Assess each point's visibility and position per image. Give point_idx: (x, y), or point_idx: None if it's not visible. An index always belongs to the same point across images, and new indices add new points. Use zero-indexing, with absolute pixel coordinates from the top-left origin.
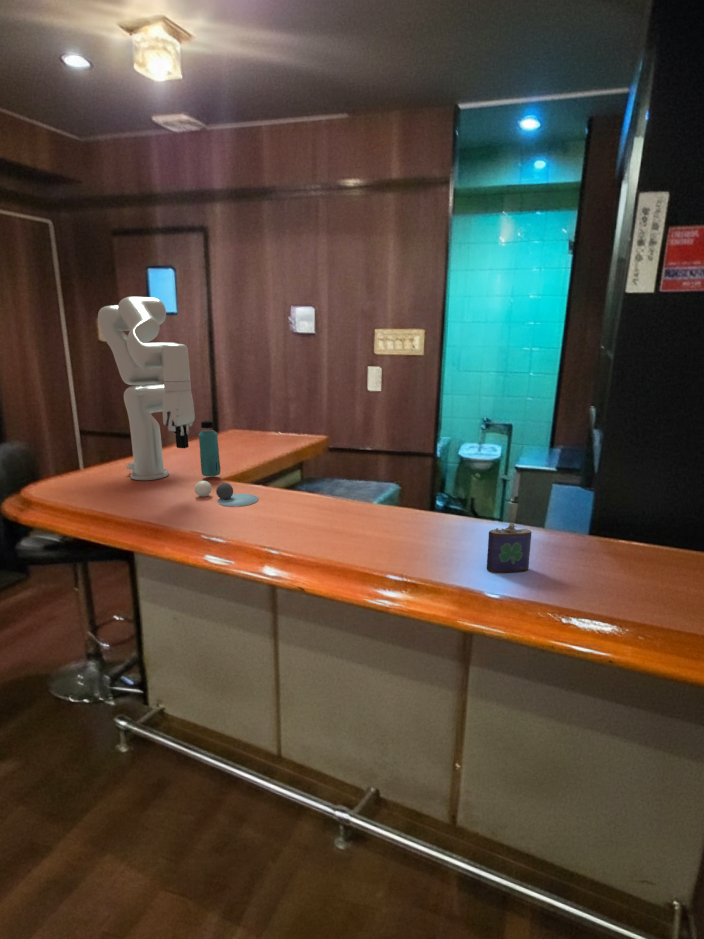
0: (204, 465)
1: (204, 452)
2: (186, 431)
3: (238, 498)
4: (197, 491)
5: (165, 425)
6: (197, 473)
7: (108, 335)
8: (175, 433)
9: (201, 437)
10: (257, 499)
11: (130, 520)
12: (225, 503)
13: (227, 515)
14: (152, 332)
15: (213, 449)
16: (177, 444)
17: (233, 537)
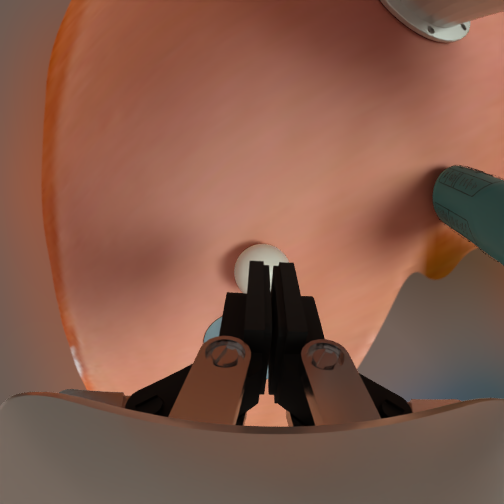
0: (455, 196)
1: (488, 218)
2: (290, 423)
3: None
4: (235, 264)
5: (36, 399)
6: (479, 126)
7: None
8: (184, 375)
9: None
10: (266, 377)
11: (47, 187)
12: (217, 336)
13: (157, 358)
14: None
15: (495, 258)
16: (226, 296)
17: (94, 381)
